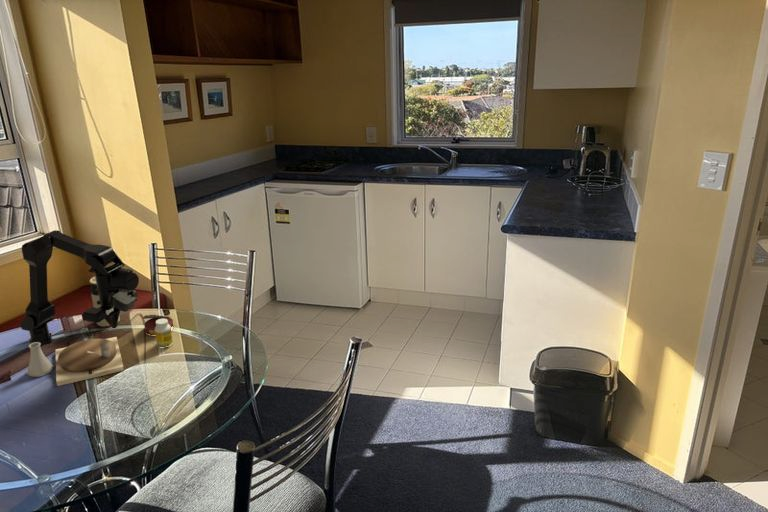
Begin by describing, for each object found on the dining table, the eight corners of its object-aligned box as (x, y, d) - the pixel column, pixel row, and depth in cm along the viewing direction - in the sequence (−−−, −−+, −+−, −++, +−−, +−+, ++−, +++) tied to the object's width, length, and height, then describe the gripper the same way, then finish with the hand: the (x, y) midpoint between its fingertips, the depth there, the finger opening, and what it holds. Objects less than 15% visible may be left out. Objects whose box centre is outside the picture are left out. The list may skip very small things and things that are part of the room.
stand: (56, 353, 188) (55, 348, 188) (117, 340, 197) (116, 335, 196) (57, 386, 171) (56, 381, 171) (123, 370, 180) (123, 365, 180)
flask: (42, 379, 175) (35, 352, 171) (22, 376, 176) (15, 349, 172) (58, 366, 181) (52, 340, 177) (39, 363, 182) (33, 337, 179)
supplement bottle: (165, 339, 199) (161, 315, 195) (176, 343, 197) (173, 319, 193) (153, 346, 194) (150, 322, 190) (165, 350, 192) (161, 326, 188)
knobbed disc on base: (46, 366, 178) (42, 347, 175) (86, 340, 193) (82, 322, 191) (91, 376, 174) (87, 357, 171) (128, 348, 189) (125, 330, 186)
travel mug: (105, 329, 204) (97, 285, 197) (92, 323, 208) (84, 279, 201) (124, 320, 210) (117, 277, 203) (111, 314, 214) (104, 272, 207)
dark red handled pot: (146, 343, 205) (132, 320, 203) (168, 329, 212) (155, 307, 210) (160, 339, 197) (146, 315, 195) (183, 325, 205) (170, 302, 203)
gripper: (107, 301, 167) (115, 346, 173) (147, 277, 184) (153, 318, 190) (76, 296, 169) (85, 340, 175) (119, 272, 186) (125, 313, 192)
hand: (114, 327), depth 183 cm, fingers closed
